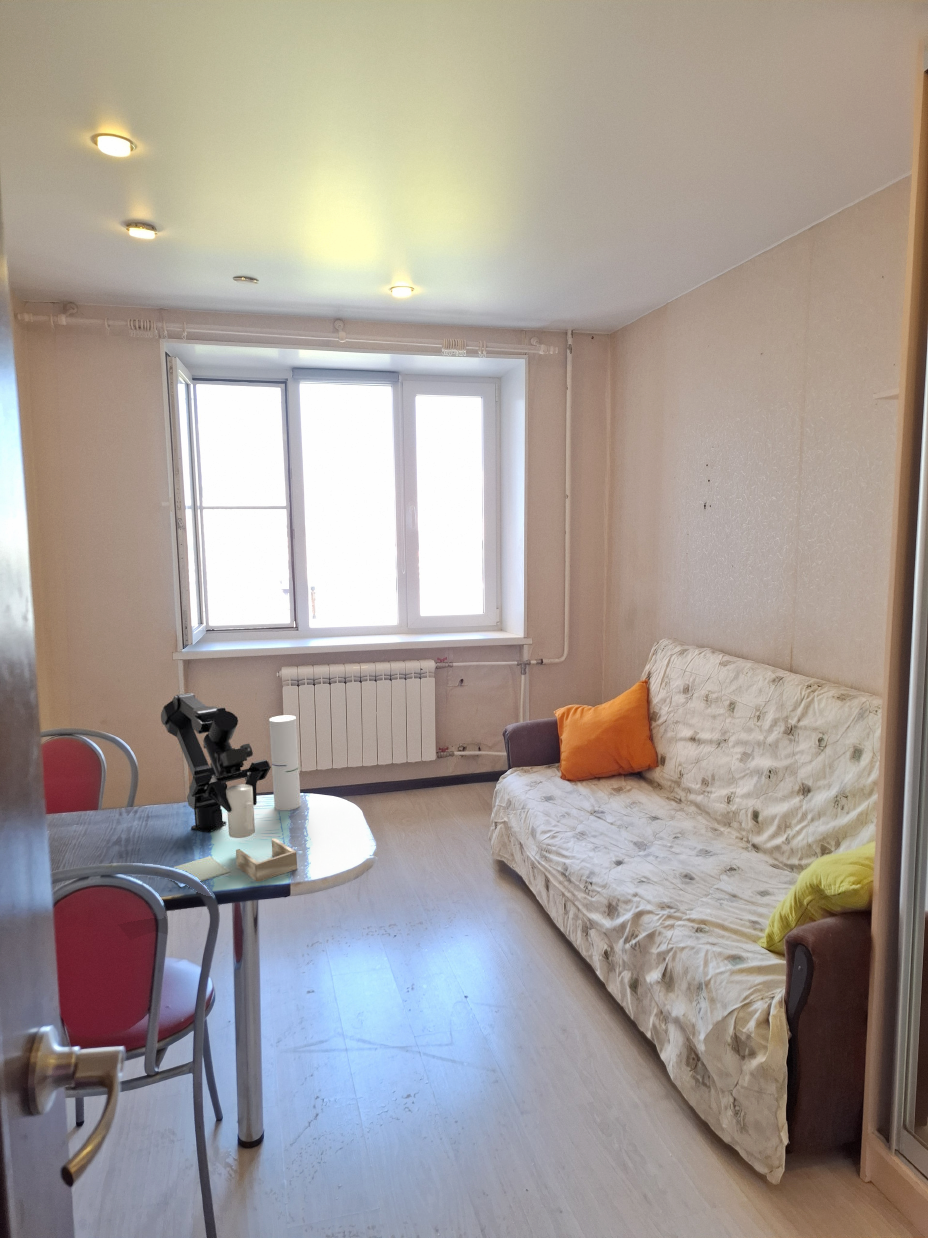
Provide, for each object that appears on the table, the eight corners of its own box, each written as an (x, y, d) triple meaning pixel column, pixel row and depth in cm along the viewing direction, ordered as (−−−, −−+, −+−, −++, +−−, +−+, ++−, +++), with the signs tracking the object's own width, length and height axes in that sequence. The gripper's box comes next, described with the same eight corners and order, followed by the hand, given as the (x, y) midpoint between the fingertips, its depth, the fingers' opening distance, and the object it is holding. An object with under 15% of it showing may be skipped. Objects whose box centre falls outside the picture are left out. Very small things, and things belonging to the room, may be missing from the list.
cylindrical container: (276, 802, 217) (271, 716, 214) (302, 800, 217) (297, 714, 214) (272, 811, 210) (267, 722, 207) (298, 809, 210) (293, 721, 207)
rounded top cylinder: (224, 833, 182) (221, 788, 181) (248, 826, 186) (245, 782, 185) (239, 842, 176) (236, 797, 175) (263, 835, 180) (260, 790, 179)
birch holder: (236, 866, 175) (235, 850, 174) (275, 854, 181) (274, 838, 180) (257, 882, 167) (256, 864, 166) (297, 868, 173) (296, 852, 172)
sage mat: (163, 871, 173) (163, 870, 173) (210, 857, 180) (210, 856, 180) (180, 887, 165) (180, 886, 165) (229, 872, 172) (229, 871, 172)
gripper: (190, 742, 176) (212, 800, 169) (265, 727, 188) (288, 781, 181) (180, 768, 183) (201, 825, 176) (253, 751, 195) (275, 804, 188)
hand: (242, 808), depth 180 cm, fingers closed on rounded top cylinder, 6 cm apart
